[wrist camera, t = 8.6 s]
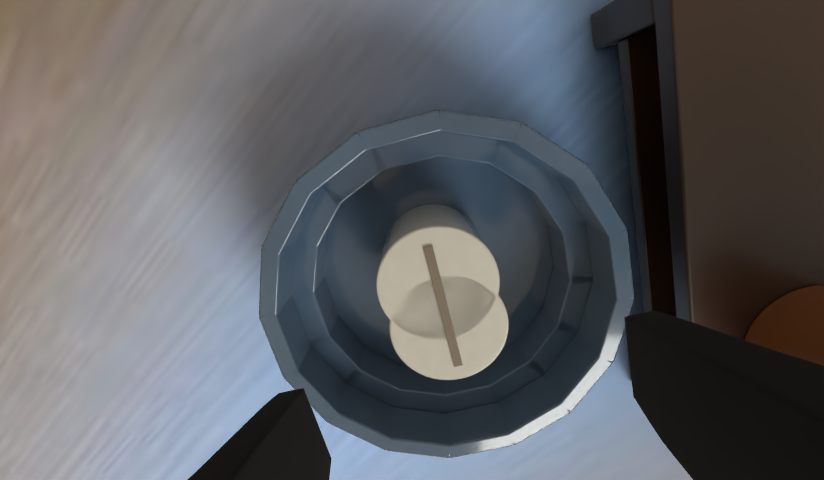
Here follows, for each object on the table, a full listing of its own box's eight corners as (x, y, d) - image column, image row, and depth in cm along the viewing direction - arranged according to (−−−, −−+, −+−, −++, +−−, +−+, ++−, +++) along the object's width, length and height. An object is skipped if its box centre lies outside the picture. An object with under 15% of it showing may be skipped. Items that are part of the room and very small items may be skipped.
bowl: (597, 355, 18) (647, 418, 14) (343, 410, 19) (325, 484, 15) (558, 80, 14) (610, 62, 11) (253, 161, 15) (199, 173, 11)
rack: (785, 351, 18) (905, 423, 13) (631, 383, 18) (699, 463, 14) (791, -42, 13) (971, -122, 9) (589, 14, 14) (669, -37, 10)
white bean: (496, 317, 17) (519, 368, 13) (407, 338, 17) (406, 393, 13) (469, 192, 15) (487, 212, 12) (372, 217, 15) (360, 243, 12)
